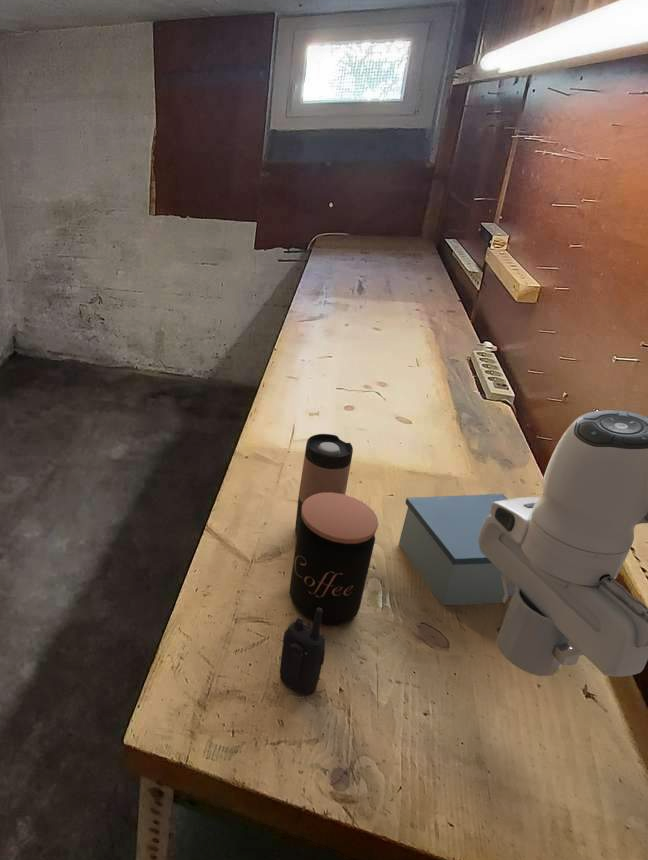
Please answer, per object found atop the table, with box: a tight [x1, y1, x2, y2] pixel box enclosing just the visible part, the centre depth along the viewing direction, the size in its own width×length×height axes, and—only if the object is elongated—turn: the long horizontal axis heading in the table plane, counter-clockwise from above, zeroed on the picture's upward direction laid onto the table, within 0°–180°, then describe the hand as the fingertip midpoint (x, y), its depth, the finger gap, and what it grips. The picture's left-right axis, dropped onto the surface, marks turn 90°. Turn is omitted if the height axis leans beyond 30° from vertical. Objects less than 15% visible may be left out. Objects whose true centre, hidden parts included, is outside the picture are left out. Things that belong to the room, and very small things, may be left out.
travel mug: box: [294, 433, 354, 538], centre depth 100 cm, size 8×8×20 cm
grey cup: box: [496, 586, 569, 677], centre depth 69 cm, size 7×7×9 cm
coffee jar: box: [289, 493, 379, 627], centre depth 87 cm, size 11×11×18 cm
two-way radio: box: [279, 608, 326, 696], centre depth 75 cm, size 6×4×15 cm
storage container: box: [398, 493, 508, 606], centre depth 93 cm, size 17×15×10 cm
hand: (535, 631), depth 69 cm, fingers closed on grey cup, 6 cm apart
